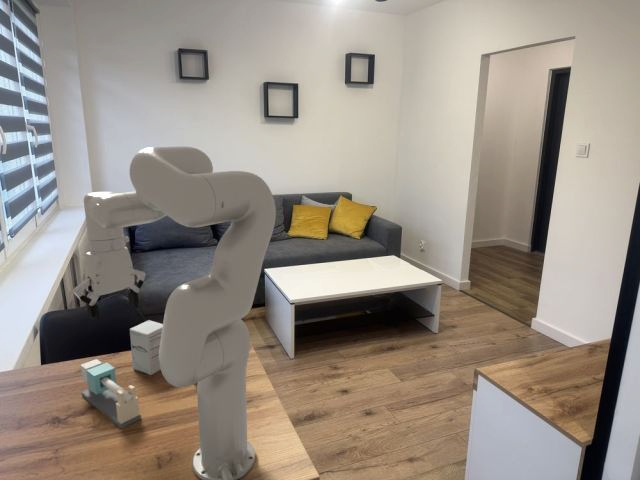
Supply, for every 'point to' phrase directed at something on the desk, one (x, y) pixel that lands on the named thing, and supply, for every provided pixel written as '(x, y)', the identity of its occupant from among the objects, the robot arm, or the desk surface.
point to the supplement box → (146, 346)
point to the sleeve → (98, 373)
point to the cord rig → (112, 399)
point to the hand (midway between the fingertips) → (115, 313)
